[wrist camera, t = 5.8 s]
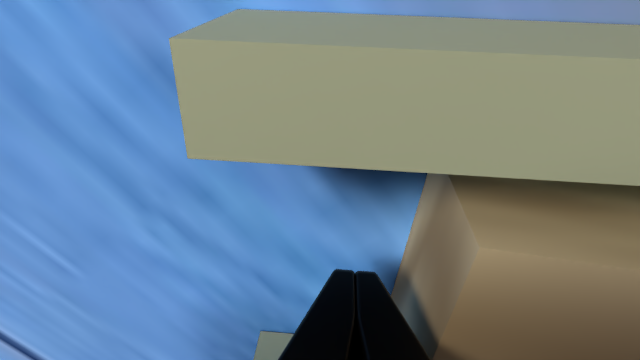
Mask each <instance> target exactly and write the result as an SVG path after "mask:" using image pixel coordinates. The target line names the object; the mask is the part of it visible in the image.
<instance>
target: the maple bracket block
mask: <svg viewBox="0 0 640 360" xmlns="http://www.w3.org/2000/svg"><path fill="white" fill-rule="evenodd" d="M391 297H392V299H393V300H394V302H395V304H396V305H397V307H398V308H399V310H400V312H401V313H402V315H403V316H404V318H405V320H406V321H407V323H408V324H409V326H410V328H411V329H412V331H413V332H414V334H415V335H416V337H417V339H418V340H419V342H420V343H421V345H422V347H423V348H424V350H425V351H426V353H427V355H428V356H429V358H430V359H431V360H640V186H632V185H616V184H599V183H583V182H567V181H550V180H534V179H517V178H501V177H484V176H468V175H452V174H435V173H428V174H427V177H426V180H425V184H424V187H423V190H422V194H421V197H420V200H419V204H418V207H417V210H416V214H415V217H414V221H413V224H412V227H411V231H410V234H409V237H408V241H407V244H406V247H405V251H404V254H403V258H402V261H401V264H400V268H399V271H398V274H397V278H396V281H395V284H394V288H393V291H392V294H391Z"/></svg>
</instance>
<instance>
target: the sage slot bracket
mask: <svg viewBox="0 0 640 360" xmlns="http://www.w3.org/2000/svg"><path fill="white" fill-rule="evenodd" d="M169 41H170V48H171V54H172V60H173V67H174V73H175V80H176V86H177V93H178V99H179V106H180V112H181V118H182V125H183V131H184V138H185V144H186V151H187V157H188V158H189V159H205V160H222V161H238V162H254V163H271V164H287V165H304V166H320V167H337V168H353V169H369V170H386V171H402V172H419V173H435V174H452V175H468V176H484V177H501V178H517V179H534V180H550V181H567V182H583V183H599V184H616V185H632V186H640V25H624V24H599V23H574V22H549V21H524V20H499V19H474V18H449V17H424V16H399V15H374V14H349V13H324V12H299V11H274V10H249V9H237V10H235V11H233V12H230V13H228V14H225V15H223V16H221V17H218V18H216V19H214V20H211V21H209V22H207V23H204V24H202V25H199V26H197V27H195V28H192V29H190V30H188V31H185V32H183V33H181V34H178V35H176V36H173V37H171V38H169ZM293 335H294V334H289V333H277V332H265V331H260V335H259V339H258V343H257V347H256V351H255V355H254V359H253V360H278V359H279V357H280V355H281V354H282V352H283V351H284V349H285V347H286V346H287V344H288V343H289V341H290V339H291V338H292V336H293Z"/></svg>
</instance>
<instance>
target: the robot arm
mask: <svg viewBox="0 0 640 360" xmlns="http://www.w3.org/2000/svg"><path fill="white" fill-rule="evenodd" d="M278 360H431V359H430V358H429V356H428V355H427V353H426V351H425V350H424V348H423V347H422V345H421V343H420V342H419V340H418V339H417V337H416V335H415V334H414V332H413V331H412V329H411V328H410V326H409V324H408V323H407V321H406V320H405V318H404V316H403V315H402V313H401V312H400V310H399V308H398V307H397V305H396V304H395V302H394V300H393V299H392V297H391V296H390V294H389V293H388V291H387V289H386V288H385V286H384V285H383V283H382V281H381V280H380V278H379V277H378V275H377V274H376V273H375V272H369V271H357V272H356V273H354V271H352V270H342V269H336V270H334V271H333V272H332V274H331V276H330V277H329V279H328V280H327V282H326V284H325V285H324V287H323V288H322V290H321V292H320V293H319V295H318V296H317V298H316V300H315V301H314V303H313V304H312V306H311V307H310V309H309V311H308V312H307V314H306V315H305V317H304V319H303V320H302V322H301V323H300V325H299V327H298V328H297V330H296V331H295V333H294V335H293V336H292V338H291V339H290V341H289V343H288V344H287V346H286V347H285V349H284V351H283V352H282V354H281V355H280V357H279V359H278Z"/></svg>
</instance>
